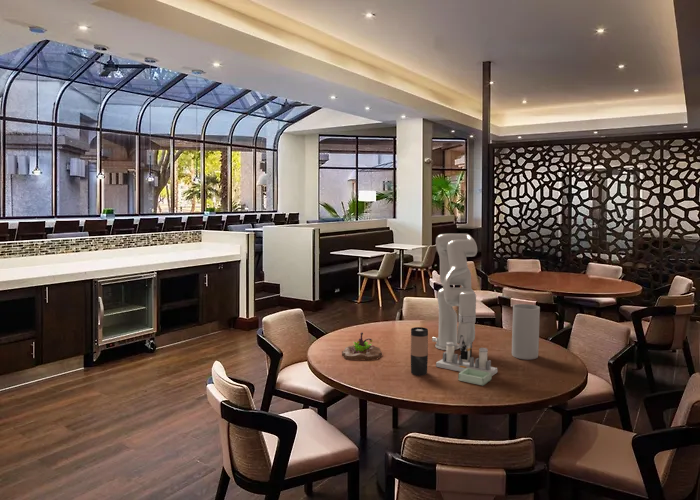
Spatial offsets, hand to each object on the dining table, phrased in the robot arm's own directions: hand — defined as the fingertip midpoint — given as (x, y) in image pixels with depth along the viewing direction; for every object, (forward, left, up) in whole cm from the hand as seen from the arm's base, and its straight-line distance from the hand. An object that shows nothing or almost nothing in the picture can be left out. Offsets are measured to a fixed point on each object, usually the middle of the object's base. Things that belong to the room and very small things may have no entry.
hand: (466, 357), depth 242 cm
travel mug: (-15, -17, -6) cm, 23 cm away
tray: (+9, -11, -5) cm, 16 cm away
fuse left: (-8, 0, -3) cm, 8 cm away
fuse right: (+8, 0, -3) cm, 9 cm away
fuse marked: (0, 0, -2) cm, 2 cm away
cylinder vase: (+15, +36, -6) cm, 39 cm away
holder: (0, 0, -5) cm, 5 cm away
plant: (-52, -9, -6) cm, 53 cm away
